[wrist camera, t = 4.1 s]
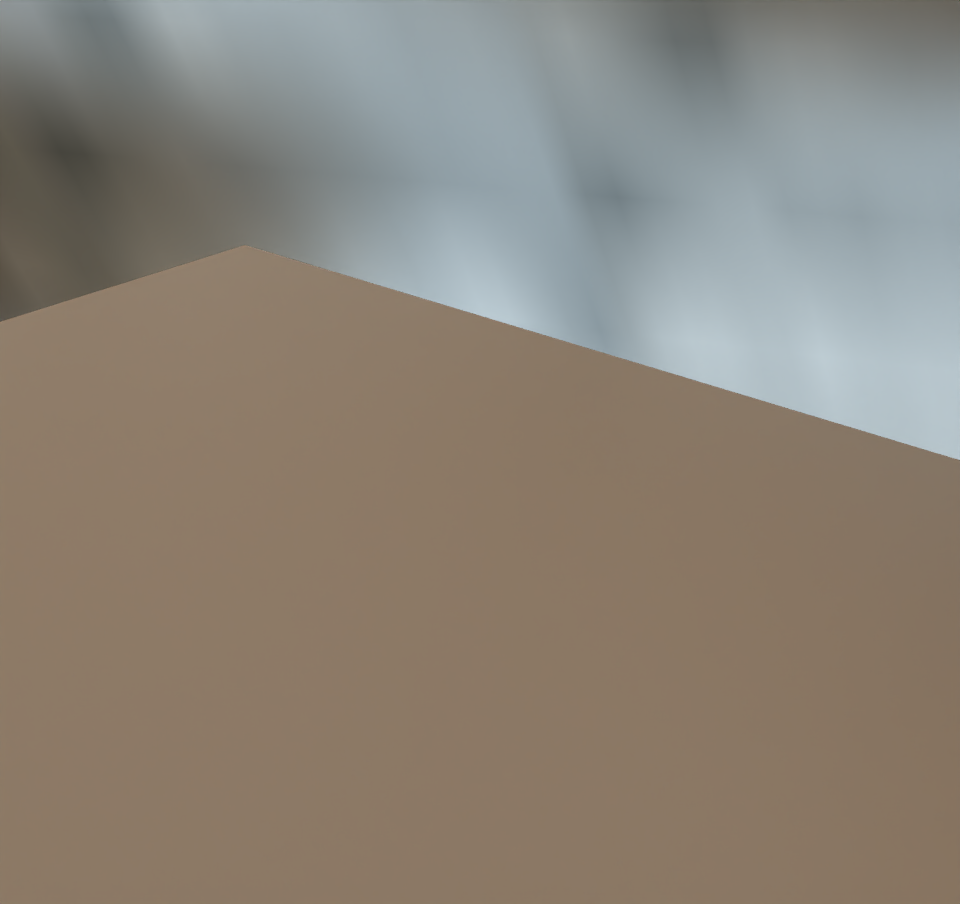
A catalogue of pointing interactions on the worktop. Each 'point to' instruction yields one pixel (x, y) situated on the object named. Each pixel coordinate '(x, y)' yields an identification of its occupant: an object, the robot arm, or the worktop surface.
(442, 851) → the beige cardboard box
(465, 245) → the worktop surface
